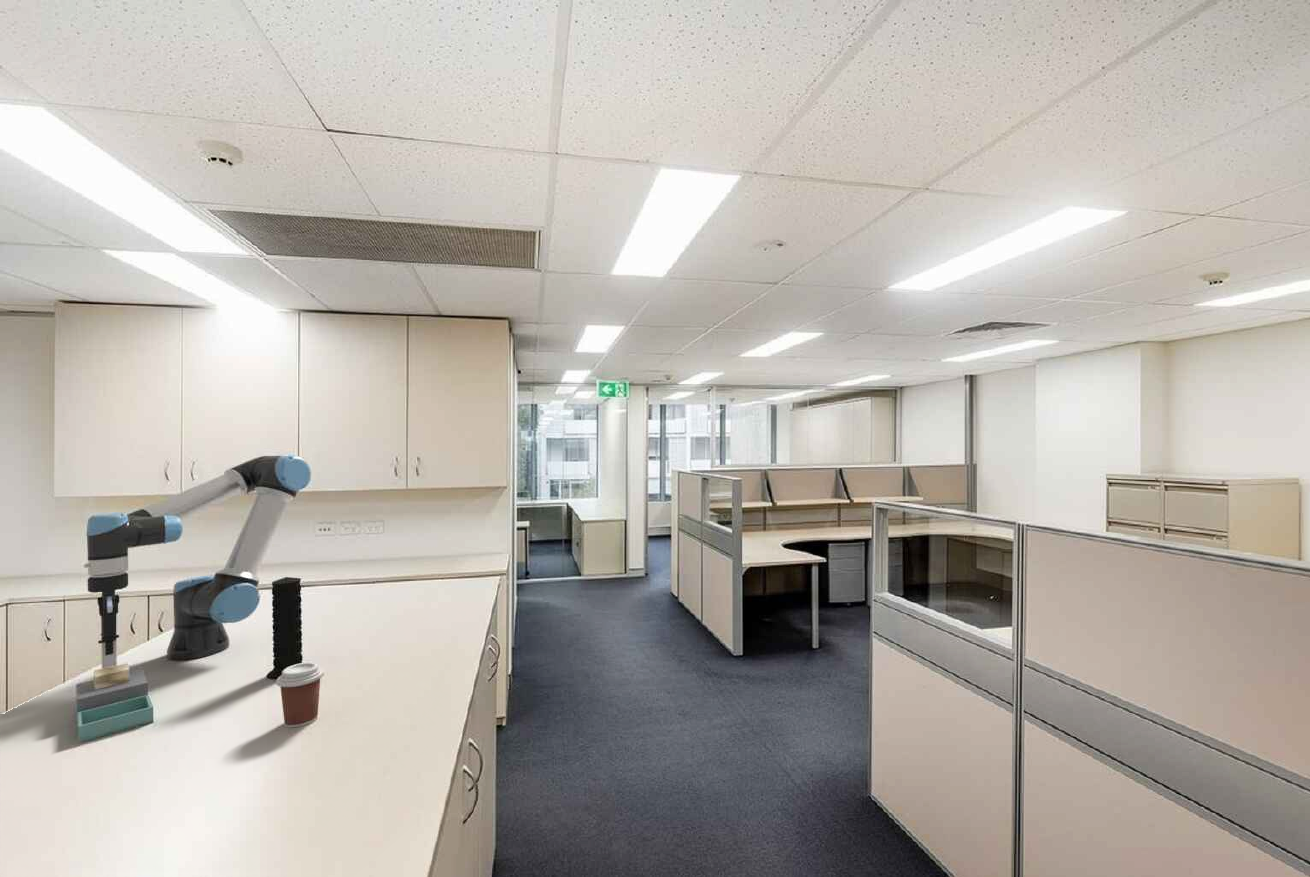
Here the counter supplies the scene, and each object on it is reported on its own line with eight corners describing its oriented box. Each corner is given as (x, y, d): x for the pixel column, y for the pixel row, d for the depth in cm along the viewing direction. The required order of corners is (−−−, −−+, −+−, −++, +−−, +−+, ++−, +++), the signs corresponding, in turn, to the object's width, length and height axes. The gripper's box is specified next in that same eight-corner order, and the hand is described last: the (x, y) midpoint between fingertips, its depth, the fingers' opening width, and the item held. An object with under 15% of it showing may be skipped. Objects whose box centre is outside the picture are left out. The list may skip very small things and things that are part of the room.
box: (148, 709, 136) (148, 694, 136) (153, 722, 129) (153, 707, 129) (77, 728, 127) (77, 712, 127) (78, 743, 120) (78, 726, 121)
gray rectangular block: (142, 692, 146) (142, 669, 146) (148, 707, 137) (147, 682, 137) (76, 708, 137) (76, 684, 137) (77, 725, 128) (77, 699, 128)
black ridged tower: (257, 678, 153) (288, 680, 151) (255, 580, 154) (286, 581, 152) (287, 664, 163) (317, 666, 161) (286, 572, 163) (315, 573, 161)
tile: (127, 675, 142) (127, 663, 142) (129, 681, 138) (129, 669, 138) (94, 682, 138) (93, 670, 138) (95, 689, 134) (94, 676, 134)
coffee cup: (333, 714, 131) (332, 662, 131) (297, 733, 122) (296, 678, 122) (304, 709, 134) (303, 658, 134) (267, 727, 125) (266, 673, 125)
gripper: (86, 573, 147) (87, 664, 147) (88, 580, 138) (89, 677, 138) (126, 568, 152) (127, 656, 152) (130, 574, 143) (131, 668, 143)
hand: (109, 666), depth 145 cm, fingers closed
